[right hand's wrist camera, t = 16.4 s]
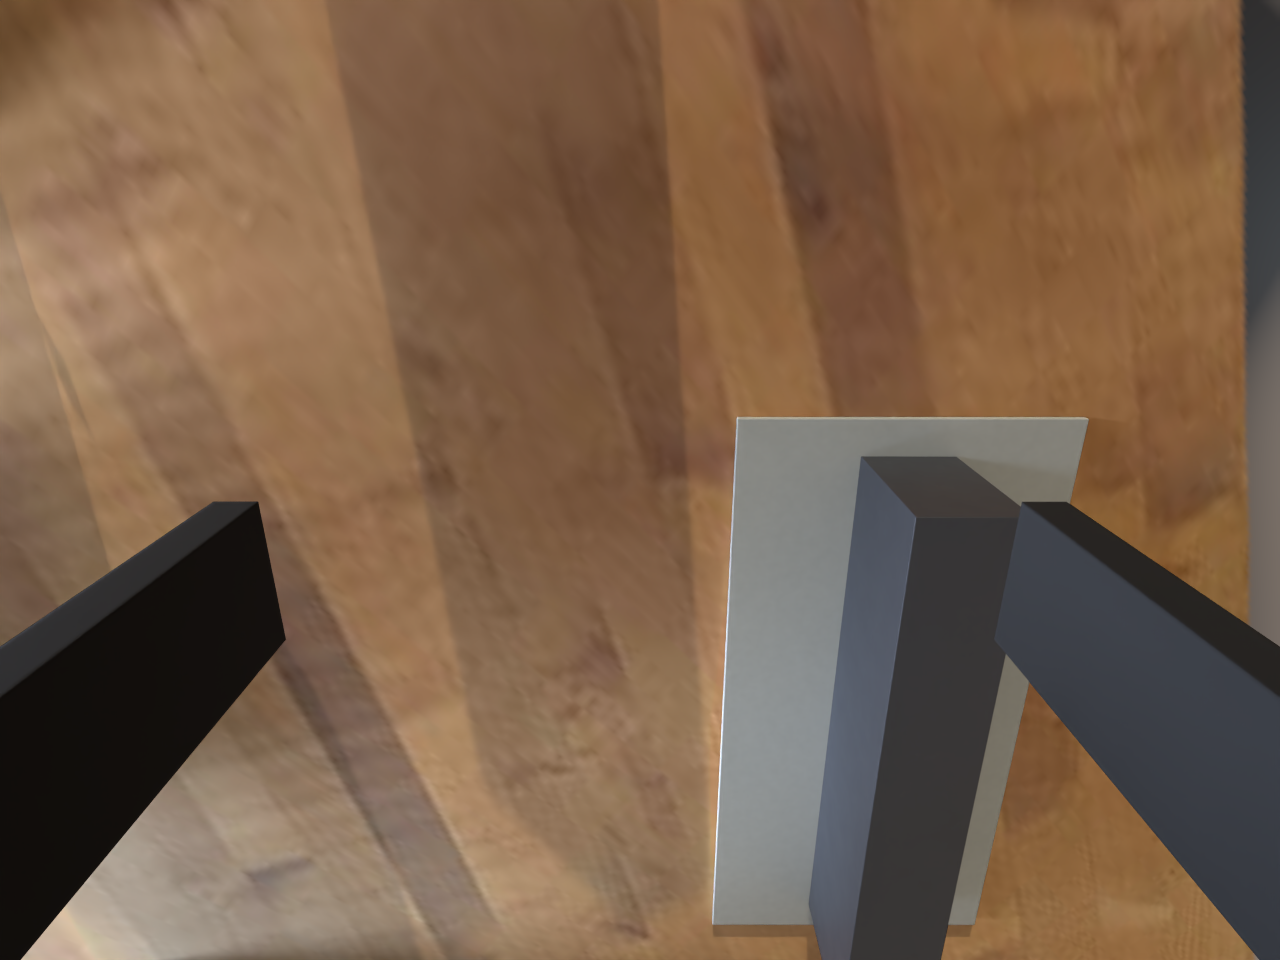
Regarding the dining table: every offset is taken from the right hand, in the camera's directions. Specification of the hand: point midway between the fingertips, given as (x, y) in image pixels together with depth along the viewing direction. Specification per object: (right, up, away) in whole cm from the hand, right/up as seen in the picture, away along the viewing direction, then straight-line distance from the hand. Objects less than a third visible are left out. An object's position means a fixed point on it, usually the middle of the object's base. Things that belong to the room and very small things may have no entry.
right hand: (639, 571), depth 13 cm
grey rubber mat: (+14, -12, +31) cm, 36 cm away
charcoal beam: (+14, -12, +30) cm, 36 cm away
